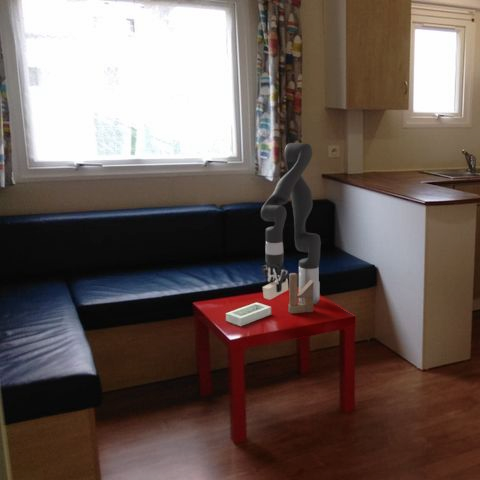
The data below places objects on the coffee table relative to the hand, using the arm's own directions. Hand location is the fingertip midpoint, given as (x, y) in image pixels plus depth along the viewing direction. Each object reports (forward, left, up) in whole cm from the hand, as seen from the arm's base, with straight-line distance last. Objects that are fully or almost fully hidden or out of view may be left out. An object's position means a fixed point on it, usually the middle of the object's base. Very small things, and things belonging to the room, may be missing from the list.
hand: (275, 290), depth 226 cm
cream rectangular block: (-1, 0, -2) cm, 2 cm away
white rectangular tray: (+5, -11, -14) cm, 18 cm away
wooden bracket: (-16, +1, -14) cm, 21 cm away
